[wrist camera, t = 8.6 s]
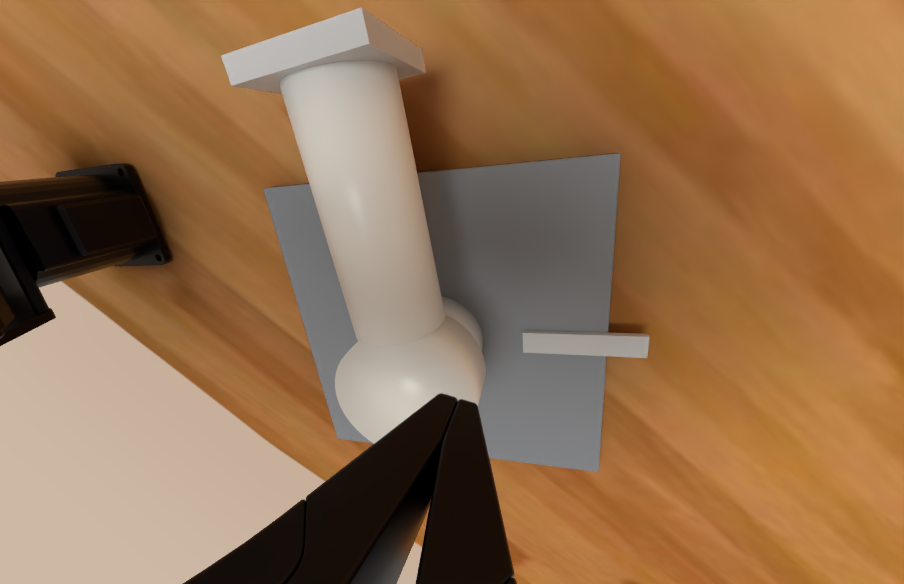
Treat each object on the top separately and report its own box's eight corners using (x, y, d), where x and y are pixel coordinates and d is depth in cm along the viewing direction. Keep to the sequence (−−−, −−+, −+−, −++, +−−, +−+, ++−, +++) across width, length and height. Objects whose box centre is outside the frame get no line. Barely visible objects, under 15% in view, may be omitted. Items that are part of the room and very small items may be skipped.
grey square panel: (343, 430, 27) (318, 465, 24) (263, 152, 19) (214, 154, 16) (628, 464, 21) (640, 515, 19) (669, 98, 14) (700, 88, 11)
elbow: (496, 401, 19) (481, 477, 15) (390, 398, 21) (349, 465, 17) (441, 43, 13) (389, -3, 9) (300, 83, 15) (200, 62, 11)
